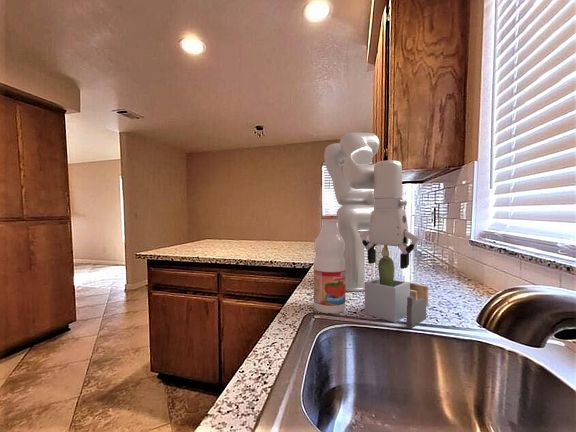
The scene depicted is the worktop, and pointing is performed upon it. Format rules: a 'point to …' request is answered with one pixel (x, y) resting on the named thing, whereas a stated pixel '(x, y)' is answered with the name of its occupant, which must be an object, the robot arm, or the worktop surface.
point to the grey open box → (386, 299)
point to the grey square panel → (415, 311)
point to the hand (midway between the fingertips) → (387, 265)
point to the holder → (419, 291)
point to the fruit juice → (329, 268)
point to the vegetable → (386, 268)
